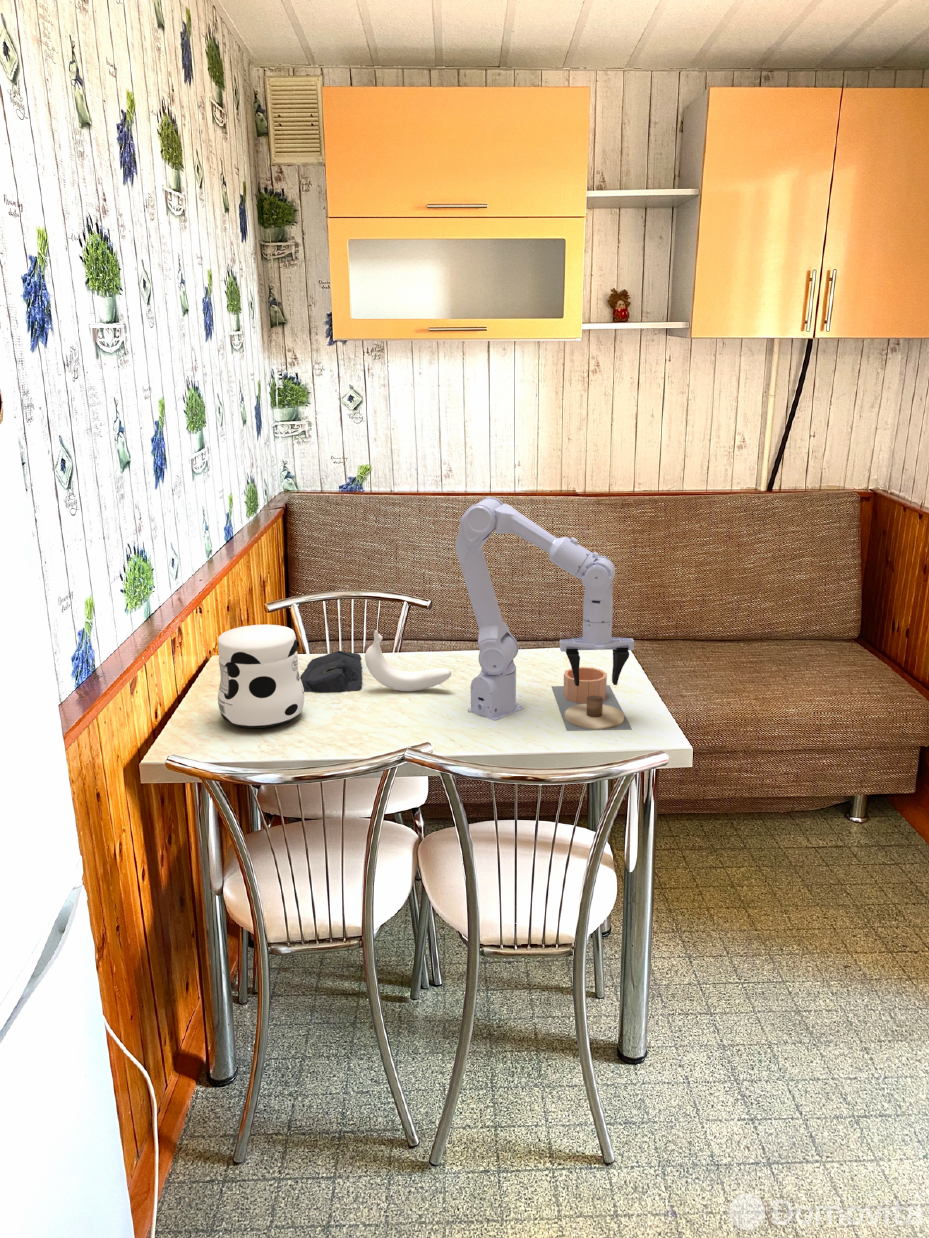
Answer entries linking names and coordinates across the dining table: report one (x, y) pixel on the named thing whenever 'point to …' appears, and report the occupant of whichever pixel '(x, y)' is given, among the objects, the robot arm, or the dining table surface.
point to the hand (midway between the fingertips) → (595, 683)
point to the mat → (566, 704)
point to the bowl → (585, 684)
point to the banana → (400, 672)
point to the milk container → (259, 676)
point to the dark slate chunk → (333, 673)
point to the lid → (594, 715)
